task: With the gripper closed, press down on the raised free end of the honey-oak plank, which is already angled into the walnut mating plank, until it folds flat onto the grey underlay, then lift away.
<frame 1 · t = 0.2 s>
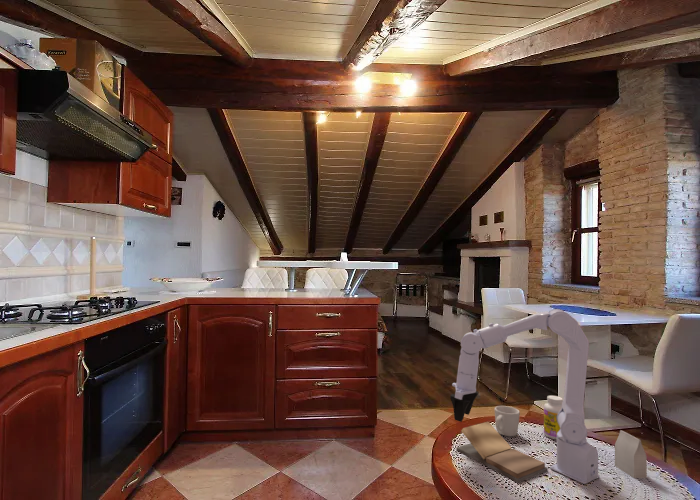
hand: (461, 417, 119), 10 cm above the table, tool pointing down, fingers open, 7 cm apart
beige gabled carton: (630, 472, 109), on the table
cup: (504, 435, 132), on the table
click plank: (486, 439, 118), point 4 cm above the table, hinge at 30.0°
supplement bottle: (554, 437, 131), on the table
floor board: (499, 460, 114), on the table
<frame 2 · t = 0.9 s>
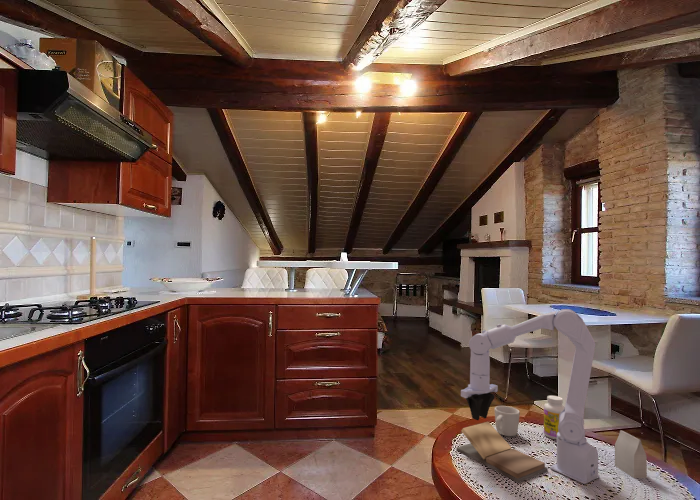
hand: (479, 418, 120), 9 cm above the table, tool pointing down, fingers open, 3 cm apart
nothing on the table moved.
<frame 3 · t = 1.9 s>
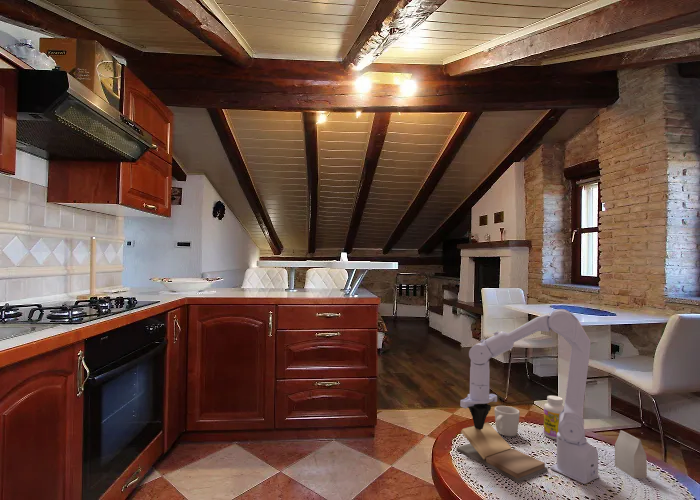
hand: (478, 428, 120), 6 cm above the table, tool pointing down, fingers closed, pressing on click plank
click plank: (486, 439, 118), point 4 cm above the table, hinge at 28.1°, touching gripper
everything else where it was.
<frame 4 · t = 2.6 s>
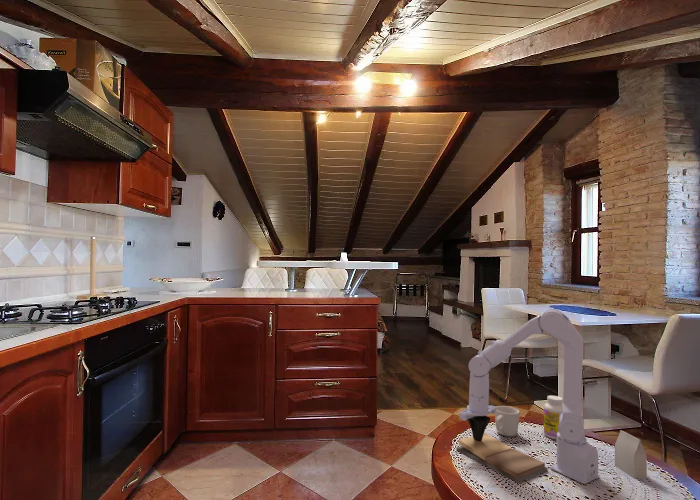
hand: (477, 440, 120), 3 cm above the table, tool pointing down, fingers closed, pressing on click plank
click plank: (485, 446, 118), point 2 cm above the table, hinge at 5.7°, touching gripper
everything else where it was.
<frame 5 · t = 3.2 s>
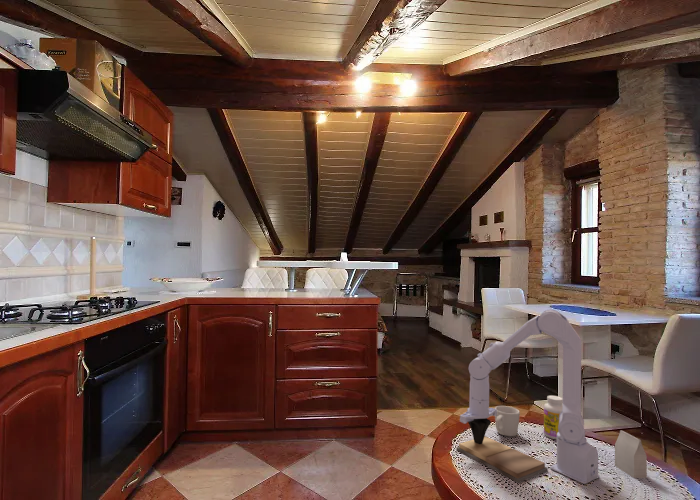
hand: (478, 442, 120), 2 cm above the table, tool pointing down, fingers closed, pressing on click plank
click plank: (485, 447, 118), point 1 cm above the table, hinge at -0.4°, touching floor board, gripper
everything else where it was.
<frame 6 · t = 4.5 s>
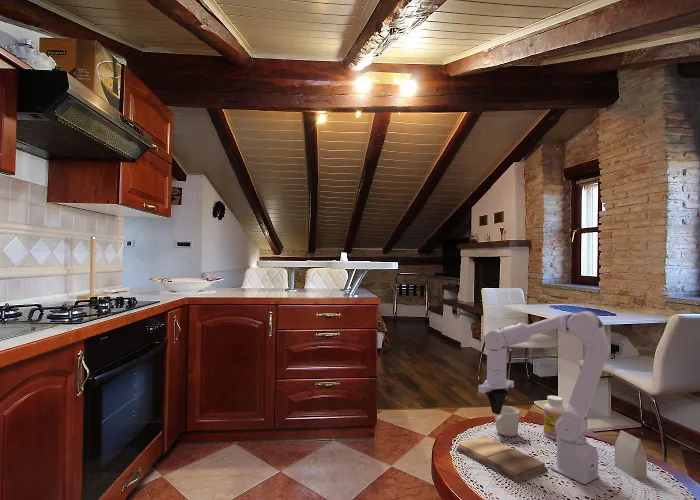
hand: (496, 413, 122), 10 cm above the table, tool pointing down, fingers closed
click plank: (485, 447, 118), point 1 cm above the table, hinge at -0.4°, touching floor board
everything else where it was.
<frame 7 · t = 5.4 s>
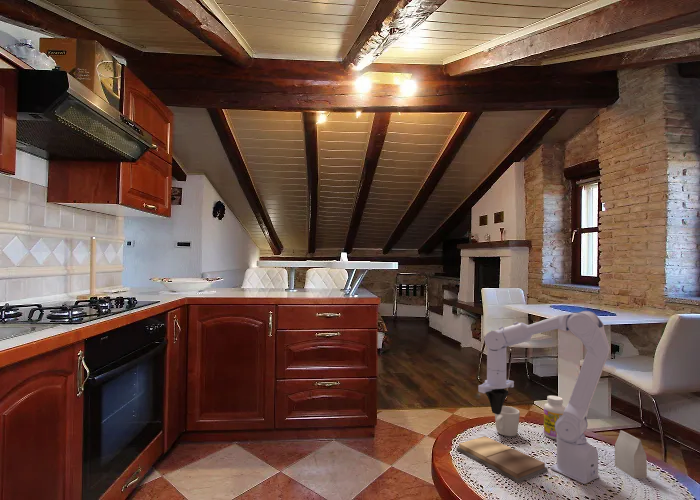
hand: (496, 413, 122), 10 cm above the table, tool pointing down, fingers closed
nothing on the table moved.
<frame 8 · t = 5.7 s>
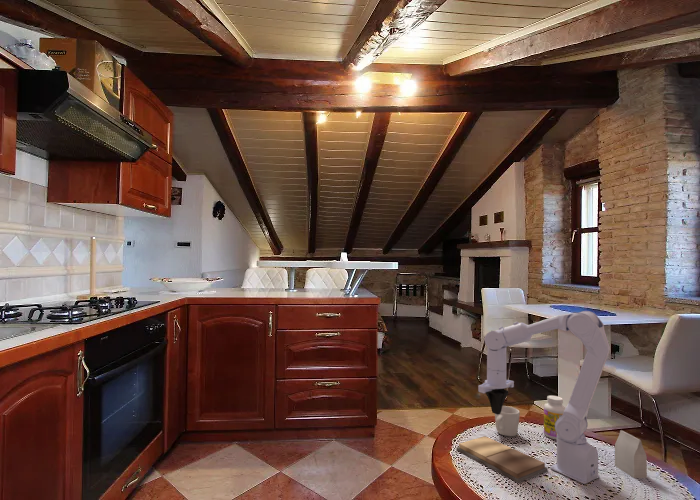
hand: (496, 413, 122), 10 cm above the table, tool pointing down, fingers closed
nothing on the table moved.
at the end: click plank at +0° (first picture: +30°); cup moved 0.2 cm from its start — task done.
